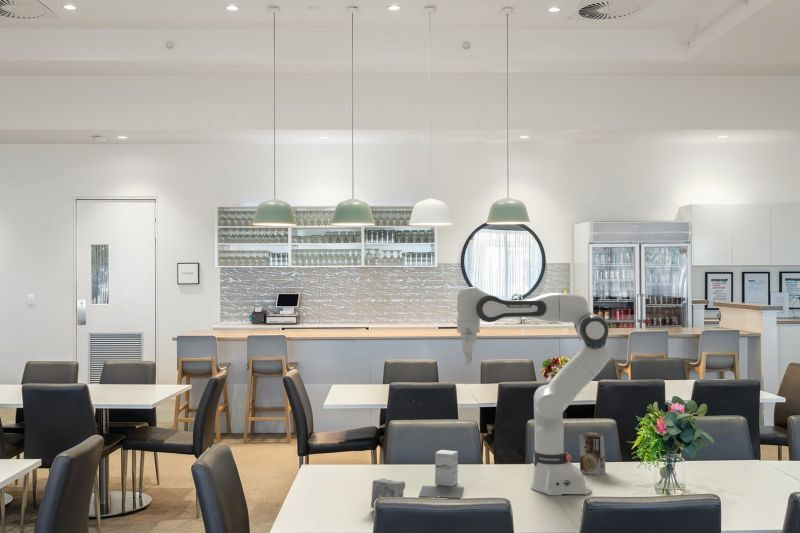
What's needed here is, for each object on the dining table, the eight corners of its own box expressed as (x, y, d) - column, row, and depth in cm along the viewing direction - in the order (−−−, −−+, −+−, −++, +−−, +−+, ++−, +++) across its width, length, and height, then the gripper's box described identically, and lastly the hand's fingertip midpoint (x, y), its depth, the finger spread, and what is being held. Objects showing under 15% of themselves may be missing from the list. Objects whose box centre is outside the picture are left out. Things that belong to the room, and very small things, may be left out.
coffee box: (605, 472, 295) (605, 433, 295) (601, 476, 289) (600, 436, 290) (584, 469, 300) (583, 431, 300) (579, 473, 294) (578, 434, 294)
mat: (463, 488, 274) (463, 487, 274) (461, 498, 262) (461, 497, 262) (422, 486, 277) (422, 485, 277) (418, 497, 264) (418, 496, 264)
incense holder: (405, 508, 252) (405, 478, 252) (395, 515, 244) (394, 485, 245) (381, 504, 256) (381, 475, 257) (370, 511, 249) (370, 481, 249)
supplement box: (434, 485, 277) (434, 452, 278) (440, 481, 284) (440, 449, 285) (452, 487, 275) (452, 454, 275) (458, 482, 281) (458, 450, 282)
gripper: (475, 330, 268) (475, 366, 268) (477, 326, 288) (477, 360, 288) (458, 330, 269) (459, 366, 269) (462, 326, 289) (462, 360, 289)
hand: (468, 363), depth 279 cm, fingers open, 8 cm apart
